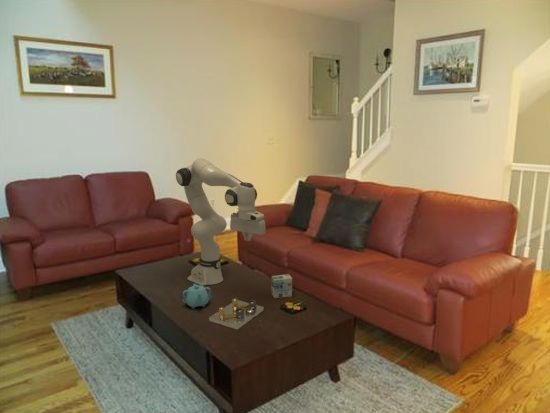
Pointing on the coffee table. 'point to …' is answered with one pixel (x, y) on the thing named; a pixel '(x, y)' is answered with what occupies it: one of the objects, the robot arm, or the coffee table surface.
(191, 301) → the teapot
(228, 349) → the coffee table surface
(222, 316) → the knob
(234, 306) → the knob
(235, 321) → the plate
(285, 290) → the light bulb box
